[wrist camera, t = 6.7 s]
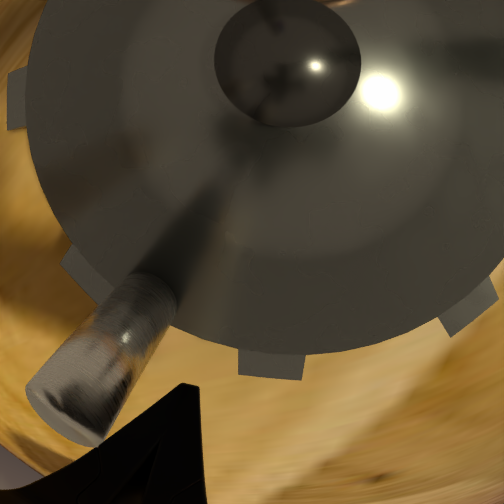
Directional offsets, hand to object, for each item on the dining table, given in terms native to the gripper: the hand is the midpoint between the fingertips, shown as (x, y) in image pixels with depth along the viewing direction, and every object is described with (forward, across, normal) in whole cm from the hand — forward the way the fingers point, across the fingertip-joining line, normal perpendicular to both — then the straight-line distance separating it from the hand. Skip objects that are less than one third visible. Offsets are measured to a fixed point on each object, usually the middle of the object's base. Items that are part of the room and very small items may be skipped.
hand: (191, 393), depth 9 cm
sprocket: (+6, -1, -9) cm, 11 cm away
